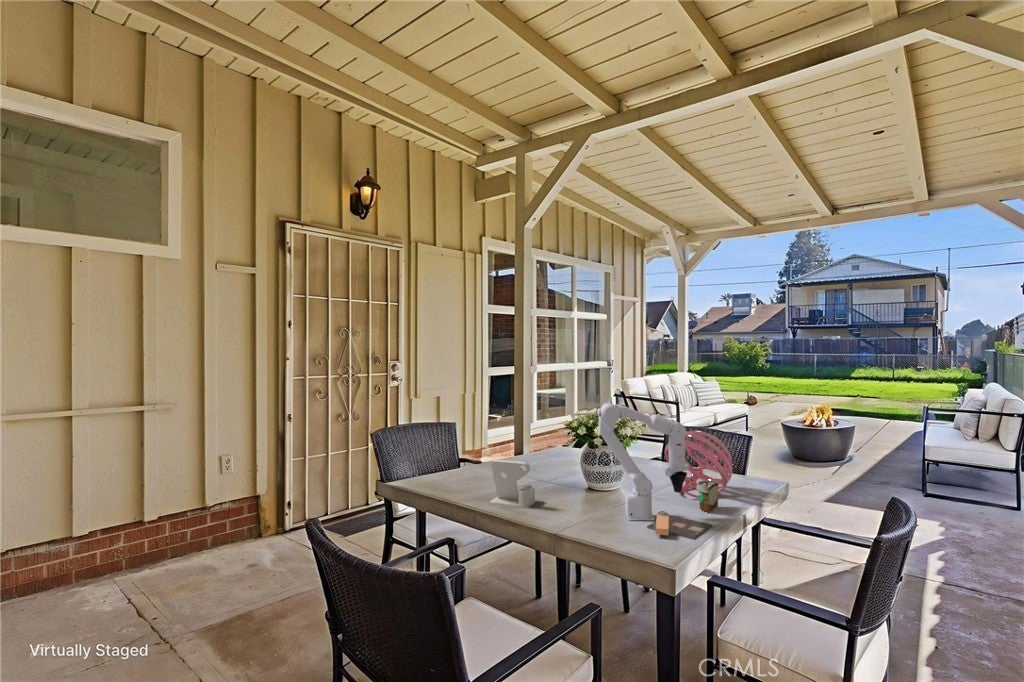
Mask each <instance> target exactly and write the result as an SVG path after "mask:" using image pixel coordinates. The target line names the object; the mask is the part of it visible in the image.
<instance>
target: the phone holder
mask: <svg viewBox="0 0 1024 682" xmlns="http://www.w3.org/2000/svg"><path fill="white" fill-rule="evenodd" d="M490 465H491V471H492V476H493V480H494V486H495V490H496V497H495V498H493V499H491V500H489V503H491V505H496V504H500V505H499V506H505V505H508V506H507V507H513V506H514V508H515V507H516V508H524V509H528V508H530V507H531V506H532V505H535V503H537V500H536V489H535V488H536V487H535V486H534V485H524V486H522V487H521V488H520V489H519V487H518V483H517V481H519V480H520V479H522V478H524V477H525V476H526V475H528V474H529V473H530V471H531V466H530V464H529V463H528V462H526V461H521V460H520V461H519V460H508V459H493V461H492V462H491V464H490ZM521 466H523V467H525V468H526V469H523V468H522V467H521ZM502 473H504V474H505V475H506V477H504V478H503V476H502Z"/></svg>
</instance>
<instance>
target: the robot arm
mask: <svg viewBox="0 0 1024 682" xmlns="http://www.w3.org/2000/svg"><path fill="white" fill-rule="evenodd" d="M597 415H598V433H599V435H600V436H601V437H602V439H603V440H604V442H605V443H606V444H607V446H608V447H609V449H610V450H611V452H612V453H613V455H614V456H615V458H616V459H617V460H618V462H619V463H620V465H621V467H622V468H623V470H624V471H625V472H626V473H627V476H628V477H629V480H630V484H631V485H632V488H631V492H626V493H625V496H624V500H625V504H624V505H625V507H624V508H625V509H624V510H625V511H624V512H625V516H626V518H627V520H628V521H656V518H655V517H654V515H653V506H652V505H653V503H652V502H653V501H652V500H653V499H652V498H653V497H652V496H653V495H652V491H653V483H652V481H651V480H650V479H649V478H648V476H647V475H646V474H645V473H643V472H642V471H641V469H639V466H638V465H636V463H635V462H634V460H633V458H632V457H631V456H630V454H629V453H628V451H627V450H626V448H625V447H624V446H623V444H622V442H621V441H620V439H619V438H618V437H617V435H616V434H615V432H614V430H615V427H616V424H617V422H618V421H619V419H620V420H624V419H632V420H635V421H636V422H641V423H643V424H646V425H647V426H648V428H649V430H653V431H655V432H657V433H660V434H664V435H668V443H669V447H668V452H669V463H668V467H667V468H666V470H665V471H664V472H665V474H664V475H665V476H667V477H669V480H670V482H671V484H672V488H673V492H674V493H678V494H681V493H680V492H681V491H682V487H683V486H684V483H685V481H684V480H685V477H686V476H687V477H688V472H686V471H688V470H689V464H690V463H689V464H686V463H685V460H686V449H685V439H684V438H685V436H686V434H687V432H688V431H687V428H686V427H685V425H684V424H682V423H680V422H678V421H677V420H675V419H673V418H667V417H664V416H663V415H662V414H660V413H657V414H656V413H654V414H652V415H648V414H645V413H643V412H641V411H638V410H635V409H633V408H631V407H628V406H624V405H622V404H621V405H620V404H616V403H615V404H614V403H613V402H610V401H609V402H603V403H602V404H601V406H600V408H599V411H598V414H597Z"/></svg>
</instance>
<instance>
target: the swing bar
mask: <svg viewBox="0 0 1024 682" xmlns="http://www.w3.org/2000/svg"><path fill="white" fill-rule="evenodd" d="M669 515H670V514H669V513H668V512H666V511H664V510H660V511H658V512H657V514H656V518H655V522H656V530H655V535H660V536H669V535H670V534H669Z"/></svg>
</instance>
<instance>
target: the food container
mask: <svg viewBox="0 0 1024 682" xmlns="http://www.w3.org/2000/svg"><path fill="white" fill-rule="evenodd" d="M719 485H720V484H718V481H714V480H700V481H698V482H697V487H696V488H695V489H696V490H697V492H698V496H699V498H698V501H699V510H700V509H701V510H702V511H701V510H700V511H701V512H703V511H704V512H703V513H705V512H707V513H706V514H709V513H710V514H711V513H713V512H714V511H715V510H717V509H718V508H719V494H718V489H719V487H720V486H719ZM717 507H718V508H717ZM714 509H715V510H714ZM713 510H714V511H713ZM712 511H713V512H712Z"/></svg>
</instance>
